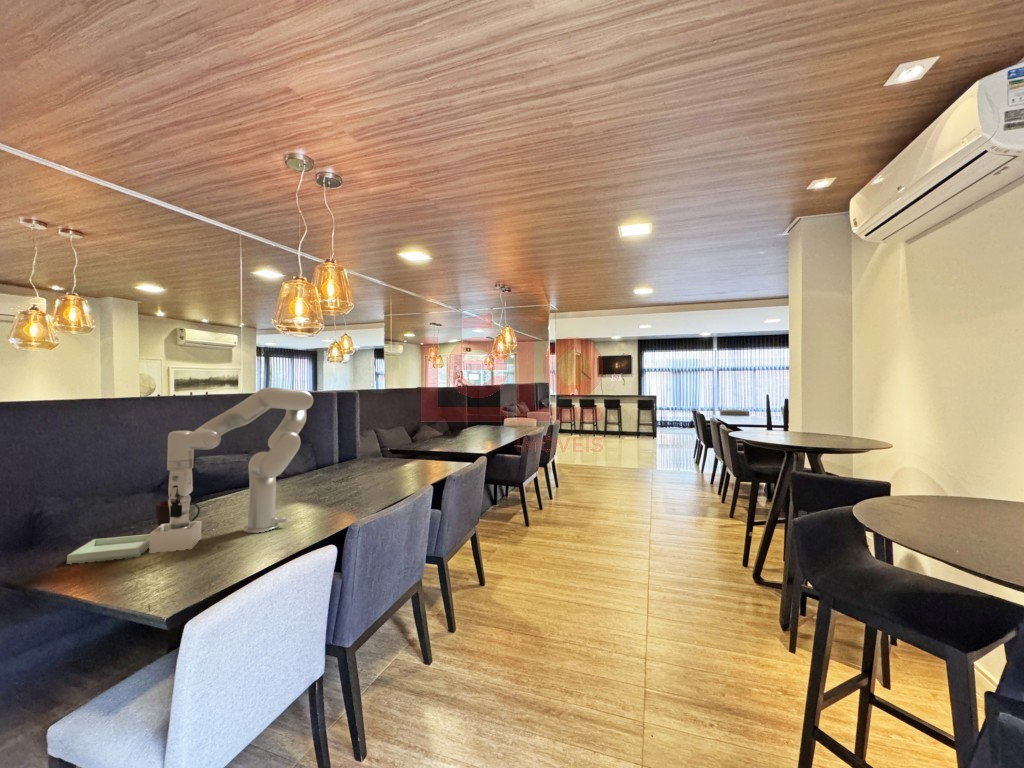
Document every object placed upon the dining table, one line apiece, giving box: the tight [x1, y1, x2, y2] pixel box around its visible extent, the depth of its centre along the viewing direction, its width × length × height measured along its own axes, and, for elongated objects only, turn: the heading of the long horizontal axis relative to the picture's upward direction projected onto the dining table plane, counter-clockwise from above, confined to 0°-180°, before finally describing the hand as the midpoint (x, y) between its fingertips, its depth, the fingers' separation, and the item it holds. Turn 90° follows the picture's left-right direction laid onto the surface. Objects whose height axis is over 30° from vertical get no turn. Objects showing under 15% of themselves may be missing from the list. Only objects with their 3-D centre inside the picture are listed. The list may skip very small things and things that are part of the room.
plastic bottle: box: [167, 494, 192, 531], centre depth 150 cm, size 6×7×20 cm
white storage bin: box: [148, 520, 202, 554], centre depth 149 cm, size 12×11×7 cm
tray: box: [66, 533, 150, 565], centre depth 142 cm, size 18×16×3 cm
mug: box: [155, 500, 201, 527], centre depth 165 cm, size 10×14×12 cm
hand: (179, 513), depth 150 cm, fingers closed on plastic bottle, 6 cm apart
